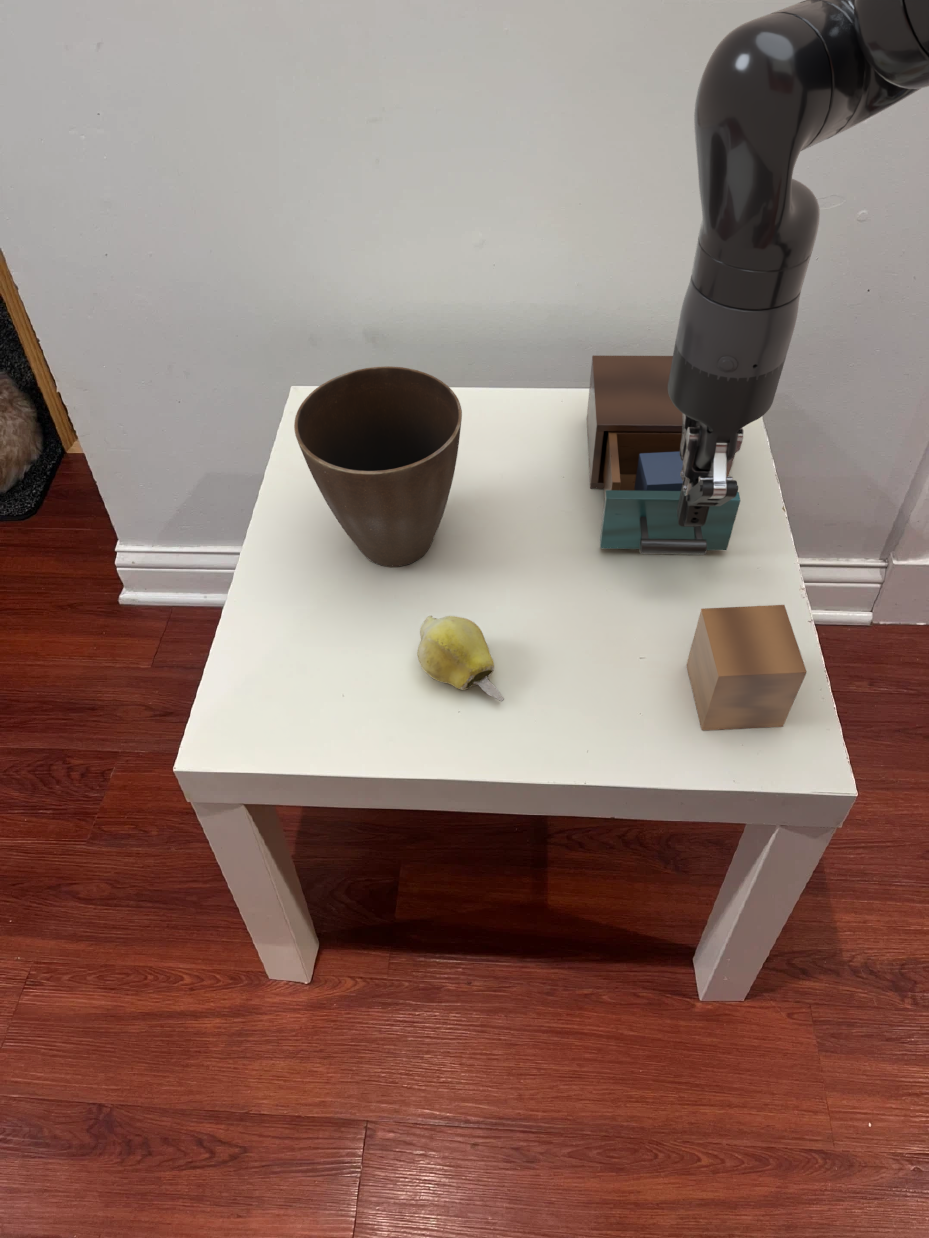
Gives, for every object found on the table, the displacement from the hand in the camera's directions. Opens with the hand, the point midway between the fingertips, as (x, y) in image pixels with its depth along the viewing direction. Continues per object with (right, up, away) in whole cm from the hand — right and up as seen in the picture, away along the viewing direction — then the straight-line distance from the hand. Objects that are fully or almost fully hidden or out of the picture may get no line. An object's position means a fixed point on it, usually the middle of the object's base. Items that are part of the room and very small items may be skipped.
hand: (690, 520), depth 77 cm
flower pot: (-26, 0, +18) cm, 32 cm away
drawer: (+1, +1, +17) cm, 17 cm away
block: (+1, +4, +17) cm, 18 cm away
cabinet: (+2, +10, +25) cm, 27 cm away
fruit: (-19, -13, +7) cm, 24 cm away
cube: (+5, -15, +5) cm, 16 cm away
